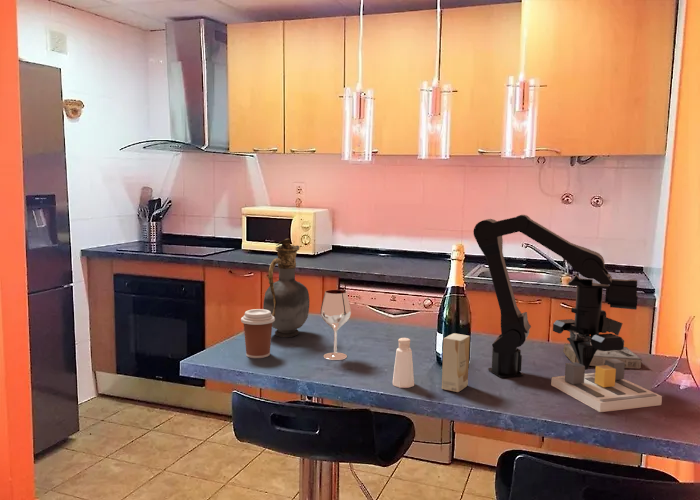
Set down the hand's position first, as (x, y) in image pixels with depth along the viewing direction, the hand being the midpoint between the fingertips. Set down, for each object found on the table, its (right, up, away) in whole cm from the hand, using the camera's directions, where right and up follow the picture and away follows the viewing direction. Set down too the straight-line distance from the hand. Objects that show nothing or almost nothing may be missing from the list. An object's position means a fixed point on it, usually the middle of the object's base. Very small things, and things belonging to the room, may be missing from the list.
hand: (584, 369), depth 143 cm
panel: (+2, -5, -6) cm, 8 cm away
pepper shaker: (-43, -4, -1) cm, 44 cm away
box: (+12, -2, +19) cm, 23 cm away
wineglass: (-60, -1, +20) cm, 63 cm away
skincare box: (-31, -4, -3) cm, 32 cm away
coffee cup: (-81, 0, +21) cm, 84 cm away
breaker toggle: (+2, -2, -7) cm, 7 cm away
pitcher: (-76, +2, +41) cm, 87 cm away
